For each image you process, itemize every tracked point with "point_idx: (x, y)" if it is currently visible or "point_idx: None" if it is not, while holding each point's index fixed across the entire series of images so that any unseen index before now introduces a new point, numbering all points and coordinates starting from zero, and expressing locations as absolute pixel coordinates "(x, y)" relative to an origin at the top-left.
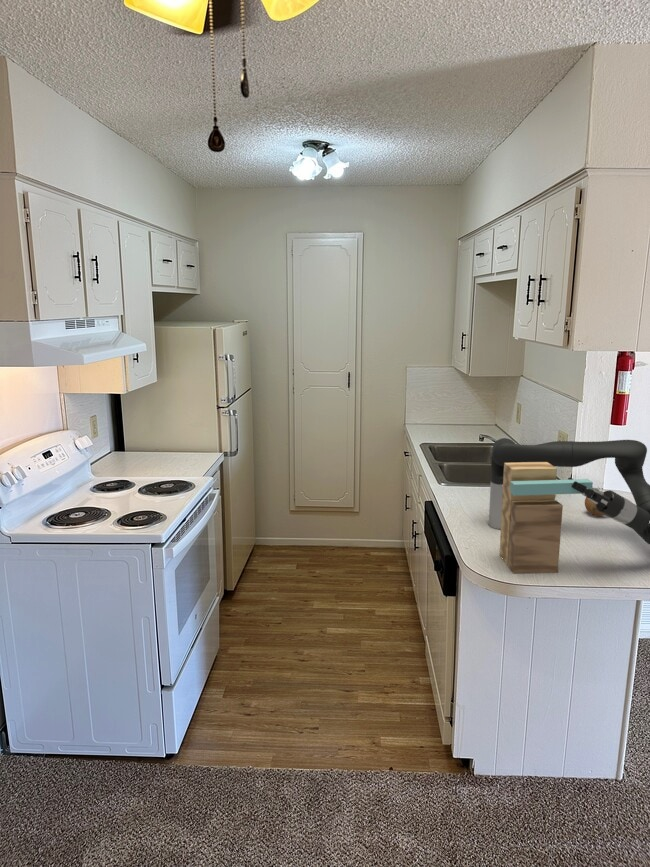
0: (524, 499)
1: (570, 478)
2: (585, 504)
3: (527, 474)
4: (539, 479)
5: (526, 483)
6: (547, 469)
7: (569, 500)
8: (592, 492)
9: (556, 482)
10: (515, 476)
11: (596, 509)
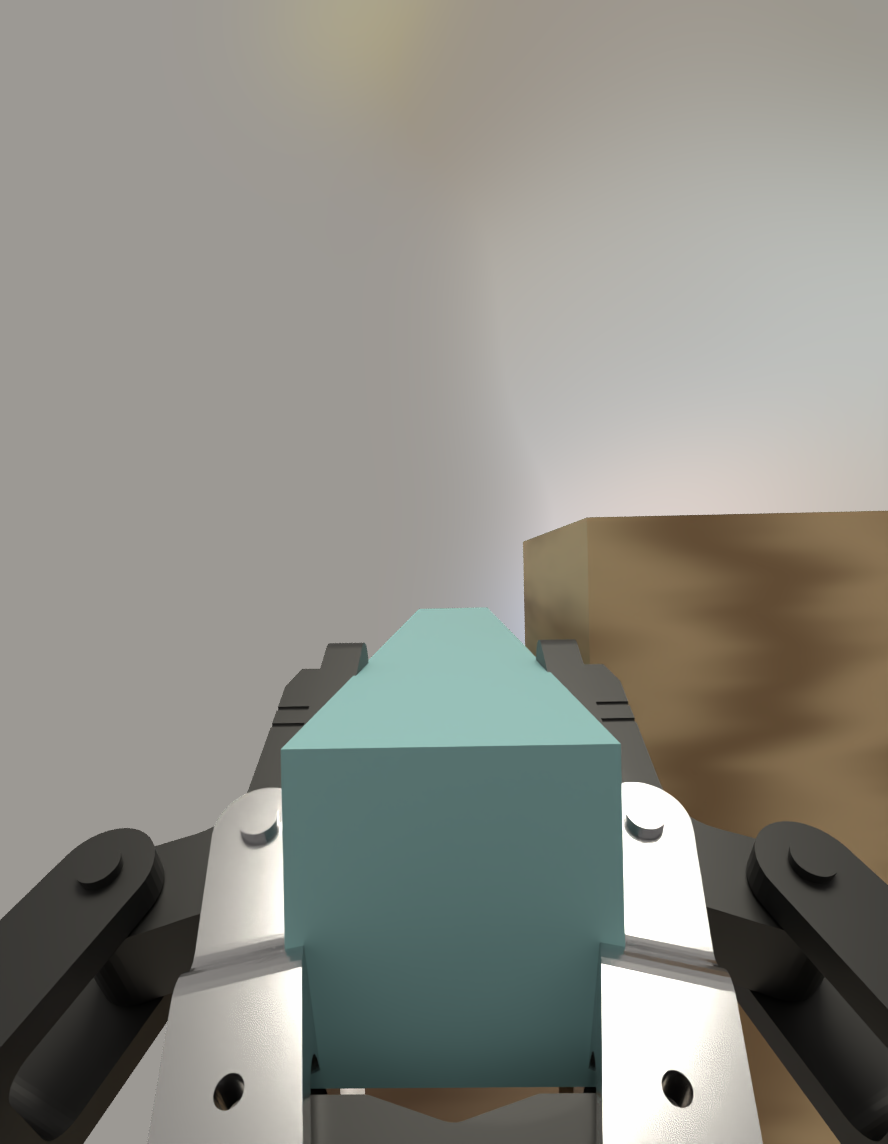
0: None
1: (538, 646)
2: None
3: (537, 578)
4: (553, 629)
5: (430, 614)
6: (564, 533)
7: None
8: (72, 894)
9: (422, 636)
10: (527, 589)
11: None
